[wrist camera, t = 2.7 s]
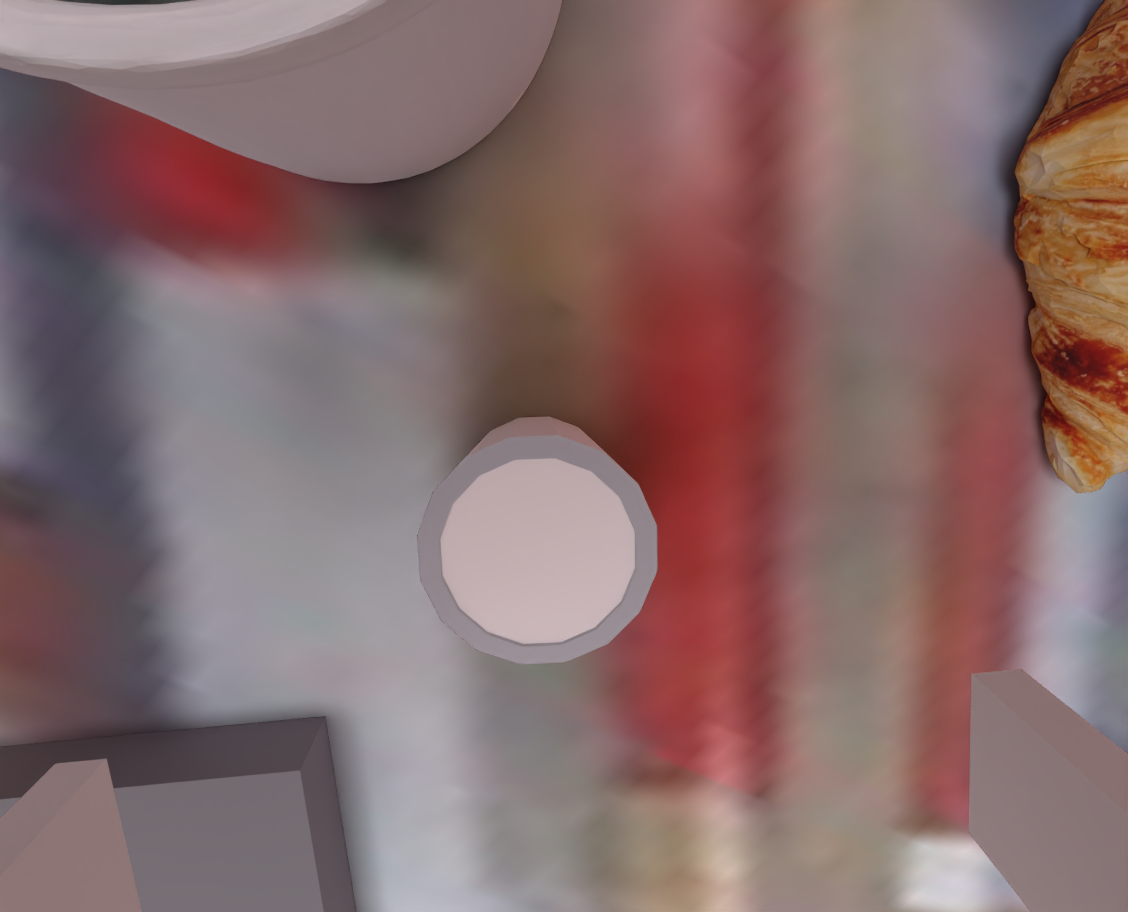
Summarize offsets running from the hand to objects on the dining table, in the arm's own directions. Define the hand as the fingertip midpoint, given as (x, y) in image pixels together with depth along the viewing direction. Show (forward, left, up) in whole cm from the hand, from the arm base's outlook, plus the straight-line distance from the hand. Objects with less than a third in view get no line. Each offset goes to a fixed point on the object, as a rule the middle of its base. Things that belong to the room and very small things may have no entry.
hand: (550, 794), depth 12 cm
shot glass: (0, 0, -18) cm, 18 cm away
